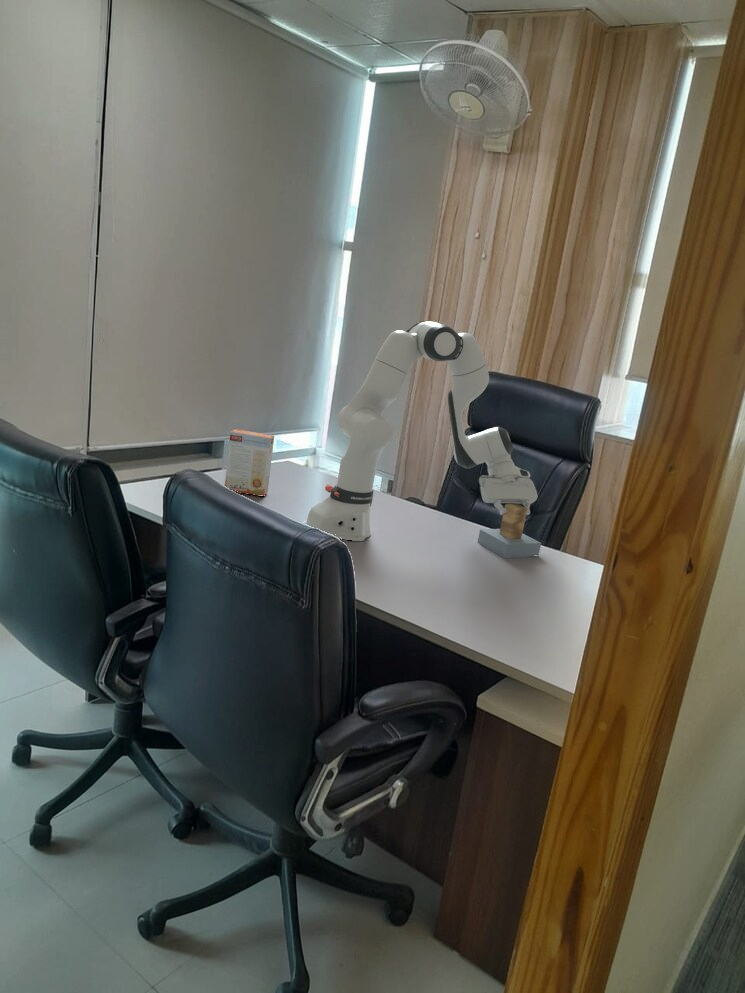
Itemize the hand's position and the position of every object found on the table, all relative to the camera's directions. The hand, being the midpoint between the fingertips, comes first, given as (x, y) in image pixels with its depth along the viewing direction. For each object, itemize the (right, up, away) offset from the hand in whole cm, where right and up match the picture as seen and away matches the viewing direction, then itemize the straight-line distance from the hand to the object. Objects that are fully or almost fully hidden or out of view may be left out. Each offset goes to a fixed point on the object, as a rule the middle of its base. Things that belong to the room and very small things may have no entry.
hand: (515, 514), depth 250 cm
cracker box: (-89, +7, +19) cm, 91 cm away
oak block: (-1, -7, +2) cm, 8 cm away
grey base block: (-2, -12, +4) cm, 13 cm away
